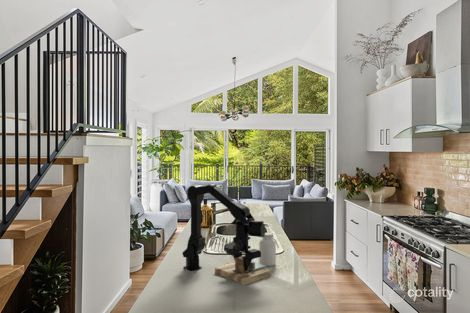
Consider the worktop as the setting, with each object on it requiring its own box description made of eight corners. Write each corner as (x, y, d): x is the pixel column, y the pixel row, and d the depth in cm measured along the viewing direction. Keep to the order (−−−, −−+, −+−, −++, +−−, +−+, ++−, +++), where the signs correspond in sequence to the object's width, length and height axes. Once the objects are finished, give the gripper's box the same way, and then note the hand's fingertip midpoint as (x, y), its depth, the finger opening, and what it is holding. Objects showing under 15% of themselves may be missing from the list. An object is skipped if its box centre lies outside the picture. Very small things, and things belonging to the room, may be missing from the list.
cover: (240, 266, 167) (240, 259, 167) (253, 262, 172) (253, 255, 172) (253, 270, 161) (253, 263, 161) (265, 266, 167) (265, 259, 166)
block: (235, 271, 162) (235, 257, 162) (242, 268, 165) (242, 255, 165) (241, 273, 159) (241, 260, 159) (249, 271, 162) (249, 258, 162)
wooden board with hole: (214, 272, 167) (214, 267, 167) (240, 264, 178) (240, 260, 178) (244, 284, 152) (244, 278, 152) (270, 275, 163) (270, 270, 163)
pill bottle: (276, 262, 182) (276, 232, 182) (274, 267, 174) (274, 236, 174) (261, 260, 184) (261, 231, 184) (258, 265, 176) (257, 235, 176)
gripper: (214, 234, 163) (214, 268, 164) (243, 242, 149) (243, 279, 150) (233, 230, 171) (233, 263, 171) (261, 237, 157) (261, 273, 157)
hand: (242, 269), depth 162 cm, fingers closed on block, 4 cm apart
